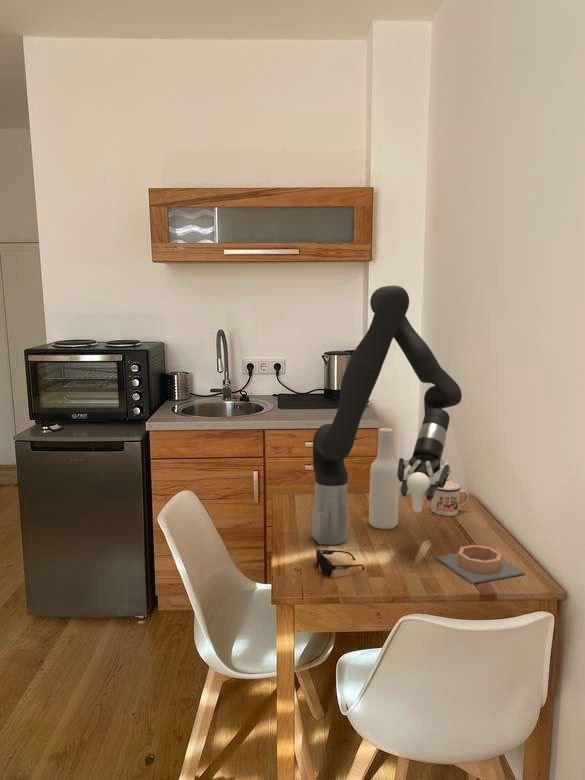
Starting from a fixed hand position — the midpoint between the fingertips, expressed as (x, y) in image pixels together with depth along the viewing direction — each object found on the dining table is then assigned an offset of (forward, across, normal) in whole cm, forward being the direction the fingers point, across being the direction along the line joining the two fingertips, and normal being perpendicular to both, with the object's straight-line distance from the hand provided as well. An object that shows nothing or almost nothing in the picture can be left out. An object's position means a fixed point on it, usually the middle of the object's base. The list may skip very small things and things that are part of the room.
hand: (416, 497), depth 167 cm
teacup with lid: (-18, 0, +43) cm, 46 cm away
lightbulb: (+2, 0, +5) cm, 5 cm away
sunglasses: (+22, -16, +4) cm, 27 cm away
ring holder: (+9, +16, +16) cm, 24 cm away
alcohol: (-2, -16, +28) cm, 32 cm away
